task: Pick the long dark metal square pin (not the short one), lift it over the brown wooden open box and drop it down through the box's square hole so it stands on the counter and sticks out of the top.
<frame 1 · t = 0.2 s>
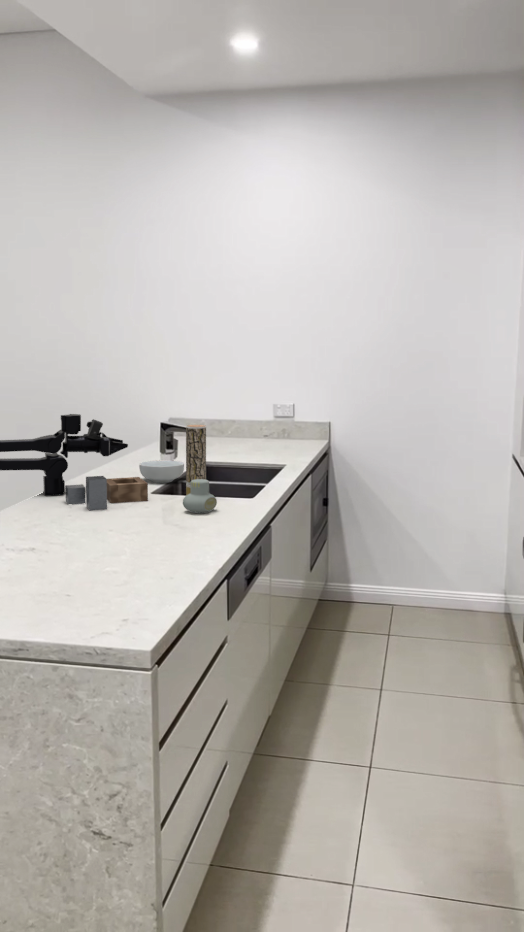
hand: (125, 443, 287), 17 cm above the table, tool horizontal, fingers open, 9 cm apart
brown wooden open box: (125, 498, 276), on the table
short pin: (75, 502, 268), on the table
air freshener: (199, 512, 258), on the table
cereal bowl: (161, 481, 308), on the table
bark textured wooden post: (196, 498, 278), on the table
long pin: (96, 508, 260), on the table
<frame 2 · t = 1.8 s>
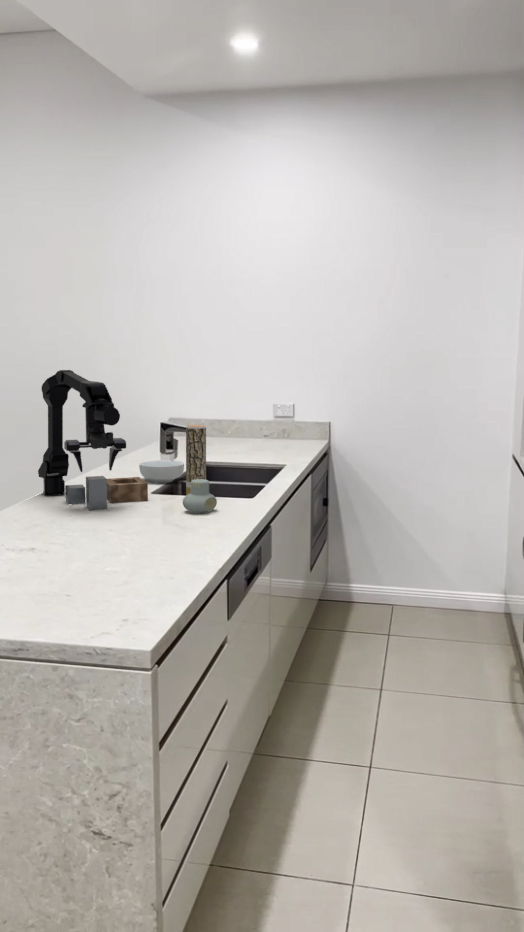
hand: (95, 471, 258), 12 cm above the table, tool pointing down, fingers open, 9 cm apart
nothing on the table moved.
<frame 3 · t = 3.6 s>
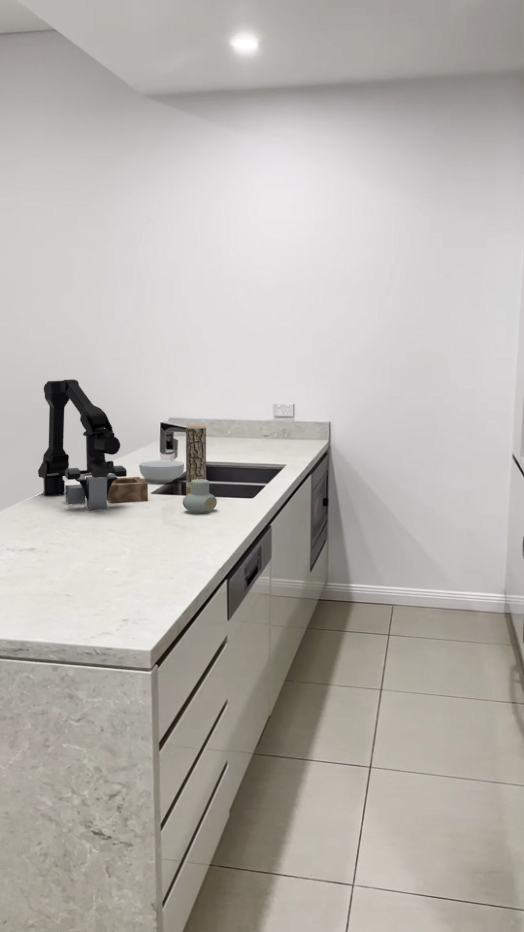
hand: (96, 498, 260), 3 cm above the table, tool pointing down, fingers closed on long pin, 6 cm apart
long pin: (96, 508, 260), on the table, touching gripper
everything else where it was.
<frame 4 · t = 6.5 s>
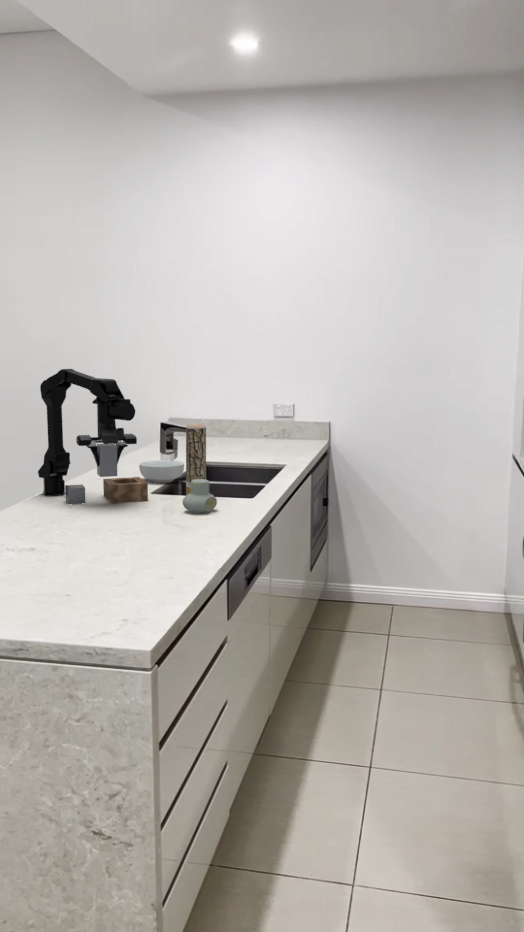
hand: (107, 465, 264), 13 cm above the table, tool pointing down, fingers closed on long pin, 6 cm apart
long pin: (107, 475, 264), point 10 cm above the table, touching gripper
everything else where it was.
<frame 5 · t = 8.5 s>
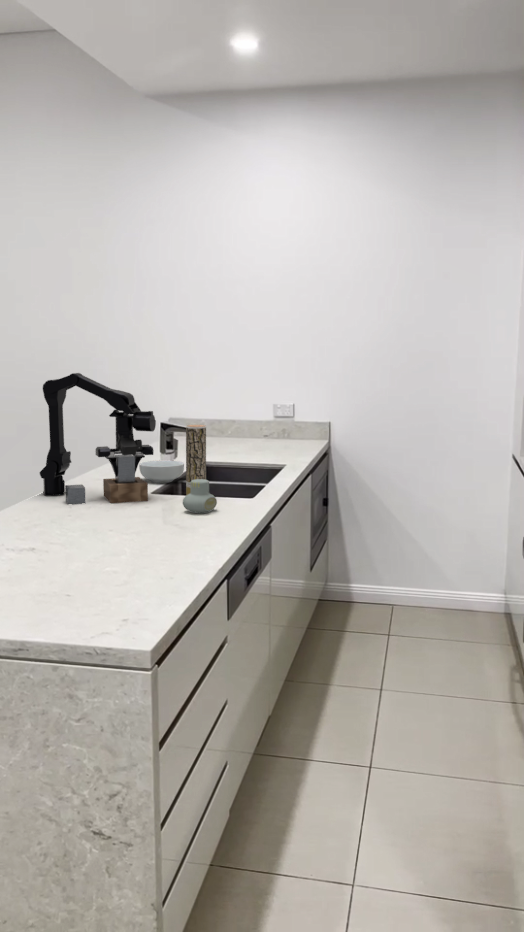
hand: (124, 475, 274), 8 cm above the table, tool pointing down, fingers closed on long pin, 6 cm apart
long pin: (125, 484, 275), point 5 cm above the table, touching gripper
everything else where it was.
when the fingers open (7 cm above the table, at t = 9.8 s): long pin drops 4 cm, resting in brown wooden open box.
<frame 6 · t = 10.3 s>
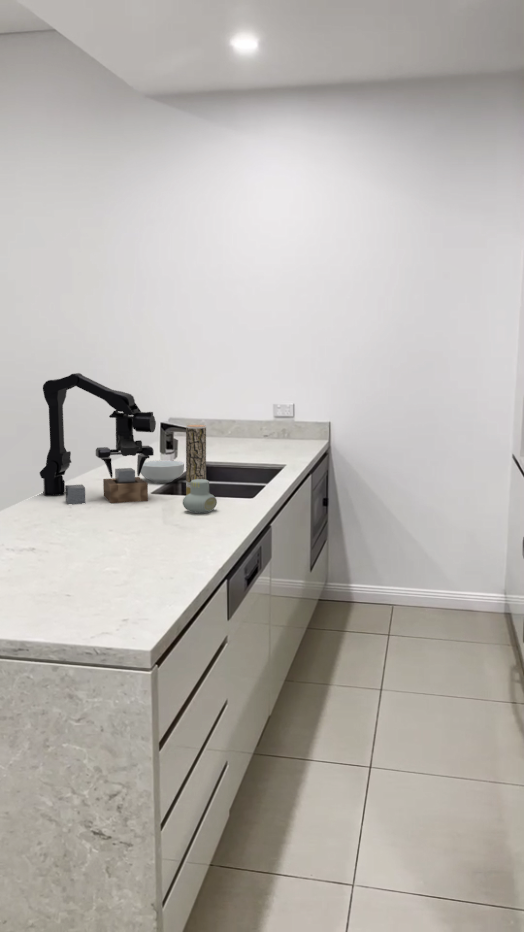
hand: (125, 476, 274), 7 cm above the table, tool pointing down, fingers open, 9 cm apart
long pin: (125, 498, 275), resting in brown wooden open box
everything else where it was.
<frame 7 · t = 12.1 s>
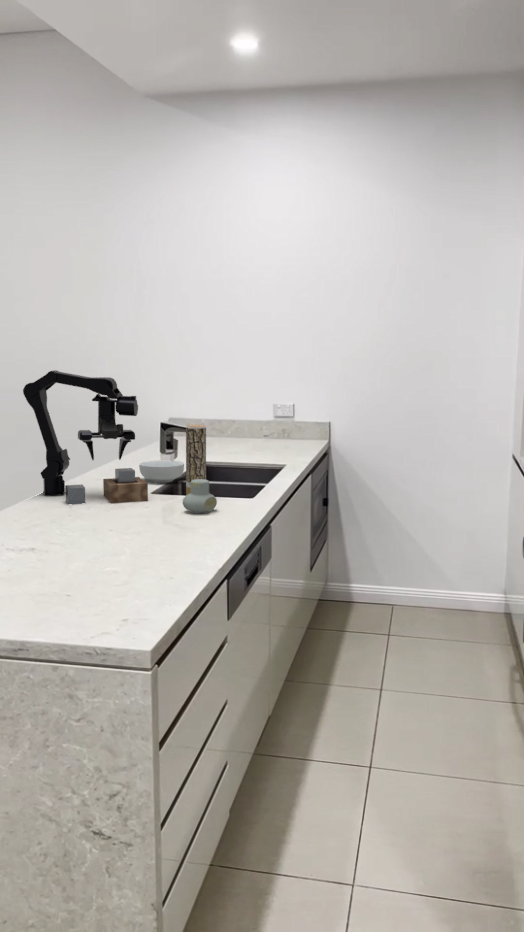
hand: (106, 459, 278), 13 cm above the table, tool pointing down, fingers open, 9 cm apart
nothing on the table moved.
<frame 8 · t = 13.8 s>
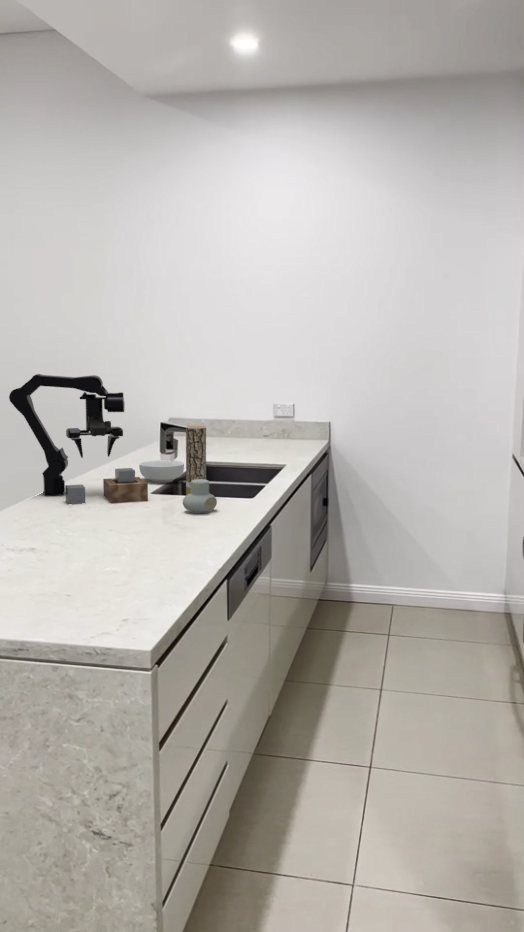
hand: (95, 457, 280), 13 cm above the table, tool pointing down, fingers open, 9 cm apart
nothing on the table moved.
at the end: long pin 0.0 cm off-centre on the brown wooden open box, point 0.0 cm above the brown wooden open box's base; long pin tilted 0°; short pin moved 0.1 cm from its start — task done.
